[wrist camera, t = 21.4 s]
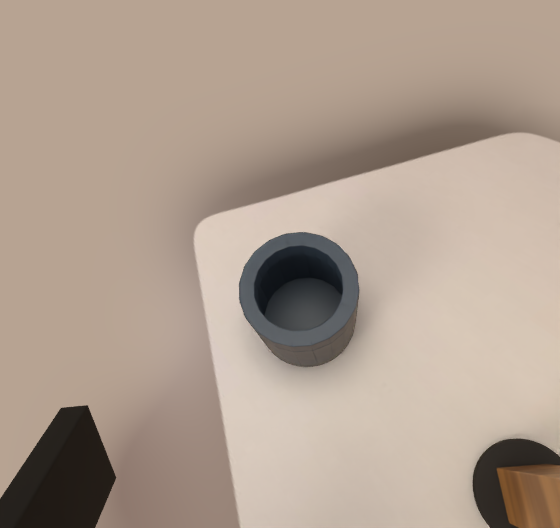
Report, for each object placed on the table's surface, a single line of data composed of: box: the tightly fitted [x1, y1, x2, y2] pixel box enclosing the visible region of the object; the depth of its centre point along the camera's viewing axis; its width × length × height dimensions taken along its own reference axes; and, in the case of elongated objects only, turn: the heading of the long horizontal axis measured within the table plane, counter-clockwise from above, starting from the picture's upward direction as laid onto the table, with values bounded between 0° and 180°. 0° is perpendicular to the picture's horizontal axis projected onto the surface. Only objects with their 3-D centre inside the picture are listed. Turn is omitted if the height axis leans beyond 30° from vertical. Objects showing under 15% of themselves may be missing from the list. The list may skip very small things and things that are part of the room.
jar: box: [239, 232, 359, 367], centre depth 40 cm, size 9×9×10 cm
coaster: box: [473, 439, 560, 528], centre depth 37 cm, size 8×8×1 cm
